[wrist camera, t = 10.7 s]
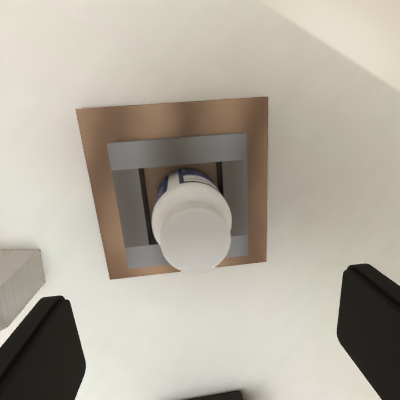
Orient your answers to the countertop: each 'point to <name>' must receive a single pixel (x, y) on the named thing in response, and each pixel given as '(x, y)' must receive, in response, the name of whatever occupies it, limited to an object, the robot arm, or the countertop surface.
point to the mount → (169, 161)
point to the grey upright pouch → (18, 281)
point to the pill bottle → (191, 221)
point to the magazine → (223, 396)
